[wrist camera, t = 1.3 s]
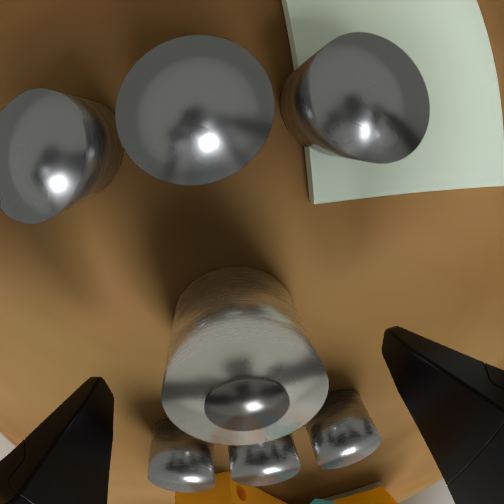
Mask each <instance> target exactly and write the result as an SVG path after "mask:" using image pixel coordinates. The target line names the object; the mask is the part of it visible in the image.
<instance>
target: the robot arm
mask: <svg viewBox="0 0 504 504" xmlns="http://www.w3.org/2000/svg"><path fill="white" fill-rule="evenodd" d="M382 354H383V357H384V359H385V361H386V364H387V366H388V368H389V371H390V373H391V375H392V378H393V380H394V383H395V385H396V387H397V389H398V392H399V394H400V395H401V397H402V399H403V401H404V403H405V405H406V406H407V408H408V410H409V412H410V414H411V415H412V417H413V419H414V421H415V423H416V425H417V427H418V429H419V430H420V432H421V434H422V436H423V438H424V440H425V442H426V444H427V446H428V448H429V450H430V452H431V454H432V456H433V458H434V460H435V462H436V464H437V466H438V468H439V470H440V472H441V474H442V476H443V478H444V480H445V482H446V484H447V485H448V489H449V491H450V493H451V495H452V497H453V500H454V502H455V504H504V370H501V369H499V368H496V367H494V366H491V365H489V364H487V363H485V364H484V362H482V361H479V360H477V359H474V358H472V357H470V356H467V355H465V354H462V353H460V352H458V351H455V350H453V349H451V348H448V347H446V346H443V345H441V344H439V343H436V342H434V341H432V340H429V339H427V338H425V337H422V336H420V335H418V334H415V333H413V332H410V331H408V330H406V329H403V328H401V327H399V326H394V327H391V328H388V329H386V330H385V332H384V338H383V344H382ZM113 413H114V397H113V394H112V392H111V390H110V389H109V387H108V385H107V384H106V382H105V380H104V379H103V378H102V377H90V378H89V379H88V380H87V381H86V382H84V383H83V384H82V385H81V386H80V387H79V388H78V389H77V390H76V391H75V392H74V393H73V394H72V395H71V396H70V397H68V398H67V399H66V400H65V401H64V402H63V403H62V404H61V405H60V406H59V407H58V408H57V409H56V410H55V411H54V412H53V413H51V414H50V415H49V416H48V417H47V418H46V419H45V420H44V421H43V422H42V423H41V424H40V425H39V426H38V427H37V428H36V429H35V430H34V431H33V432H32V433H30V434H29V435H28V436H27V437H26V438H25V440H23V441H22V442H21V443H20V444H19V445H18V446H17V447H16V448H15V449H14V450H13V451H12V452H11V453H9V454H8V455H7V456H6V457H5V458H3V459H2V460H1V461H0V504H107V495H108V481H109V469H110V459H111V450H112V441H113Z"/></svg>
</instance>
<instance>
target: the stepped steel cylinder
mask: <svg viewBox="0 0 504 504" xmlns="http://www.w3.org/2000/svg"><path fill="white" fill-rule="evenodd" d="M328 389H329V380H328V376H327V373H326V371H325V369H324V367H323V365H322V362H321V360H320V358H319V356H318V354H317V352H316V350H315V347H314V345H313V343H312V341H311V339H310V337H309V335H308V333H307V331H306V328H305V326H304V324H303V322H302V320H301V318H300V316H299V314H298V312H297V309H296V307H295V305H294V303H293V301H292V299H291V297H290V295H289V293H288V291H287V290H286V289H285V287H284V286H283V285H282V284H281V283H280V282H279V281H278V280H277V279H275V278H274V277H273V276H271V275H269V274H267V273H266V272H263V271H261V270H258V269H254V268H250V267H242V266H232V267H224V268H219V269H215V270H213V271H210V272H207V273H205V274H203V275H202V276H200V277H198V278H197V279H195V280H194V281H193V282H192V283H191V284H190V285H188V287H187V288H186V289H185V290H184V291H183V293H182V295H181V296H180V298H179V300H178V303H177V306H176V310H175V315H174V320H173V326H172V331H171V337H170V343H169V348H168V354H167V361H166V367H165V373H164V380H163V387H162V405H163V408H164V410H165V413H166V414H167V416H168V417H169V419H170V420H171V421H172V422H173V423H174V424H175V425H176V426H177V427H178V428H180V429H181V430H182V431H184V432H186V433H187V434H189V435H191V436H193V437H195V438H198V439H201V440H203V441H207V442H211V443H216V444H222V445H252V444H259V443H264V442H268V441H271V440H275V439H278V438H280V437H283V436H285V435H288V434H290V433H292V432H294V431H295V430H297V429H299V428H300V427H302V426H303V425H305V424H306V423H307V422H308V421H310V420H311V419H312V418H313V417H314V416H315V415H316V414H317V413H318V411H319V410H320V409H321V407H322V406H323V404H324V402H325V400H326V397H327V394H328Z"/></svg>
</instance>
